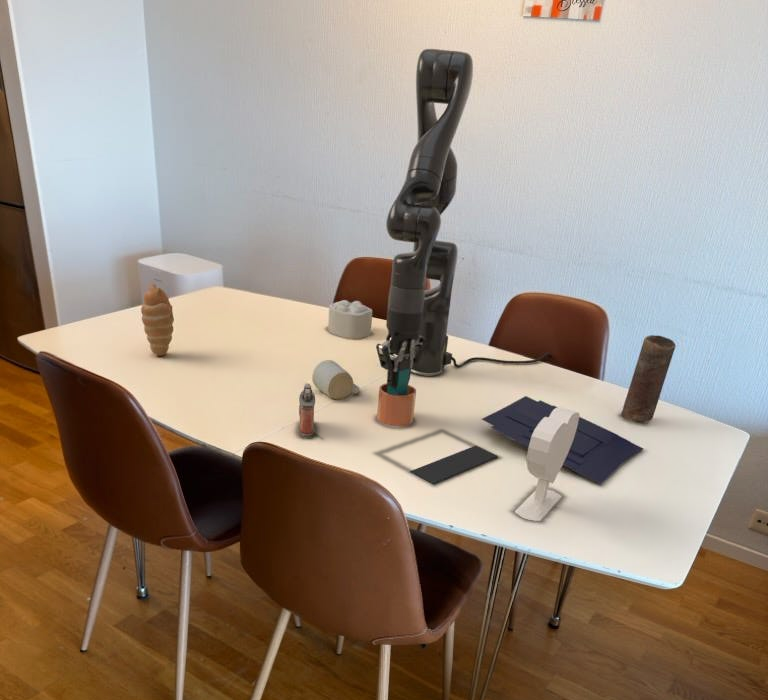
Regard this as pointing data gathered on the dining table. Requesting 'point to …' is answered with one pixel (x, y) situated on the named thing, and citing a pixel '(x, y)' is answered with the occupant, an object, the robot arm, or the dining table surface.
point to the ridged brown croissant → (157, 320)
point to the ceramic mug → (333, 380)
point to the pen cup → (396, 407)
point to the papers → (590, 444)
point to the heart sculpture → (548, 460)
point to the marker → (401, 378)
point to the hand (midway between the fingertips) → (398, 384)
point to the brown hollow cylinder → (648, 378)
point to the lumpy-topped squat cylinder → (350, 319)
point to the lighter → (306, 412)
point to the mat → (454, 464)
